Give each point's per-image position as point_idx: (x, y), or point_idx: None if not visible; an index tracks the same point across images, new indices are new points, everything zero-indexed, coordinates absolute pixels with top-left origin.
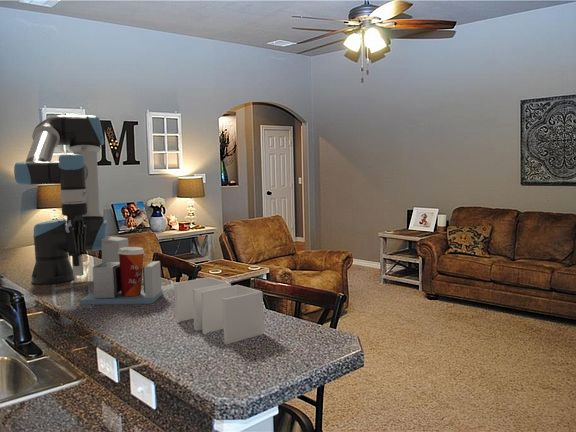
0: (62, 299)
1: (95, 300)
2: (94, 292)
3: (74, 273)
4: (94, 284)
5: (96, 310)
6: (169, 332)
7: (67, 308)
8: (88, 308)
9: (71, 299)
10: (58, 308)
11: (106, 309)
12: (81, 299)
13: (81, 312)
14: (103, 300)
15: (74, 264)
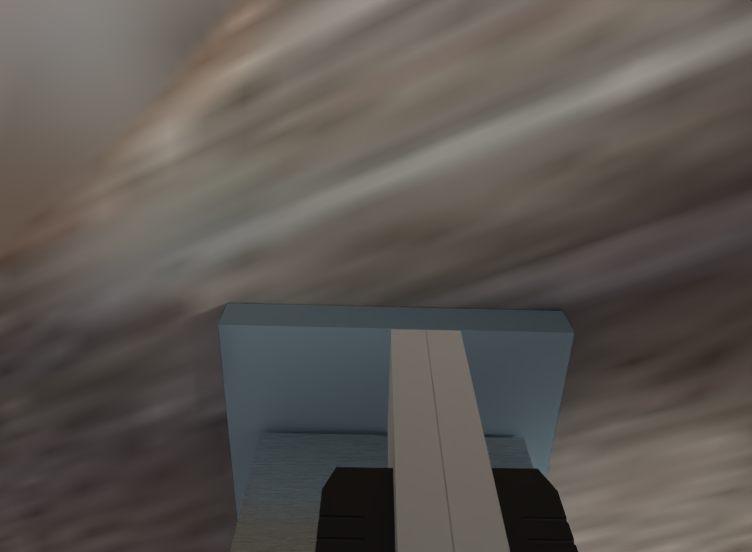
0: (449, 43)
1: (231, 438)
2: (250, 469)
3: (391, 365)
4: (237, 534)
5: (74, 471)
6: None
7: (100, 249)
8: (120, 405)
9: (436, 146)
10: (90, 168)
11: (109, 518)
12: (235, 336)
13: (5, 398)
14: (235, 488)
15: (321, 511)
